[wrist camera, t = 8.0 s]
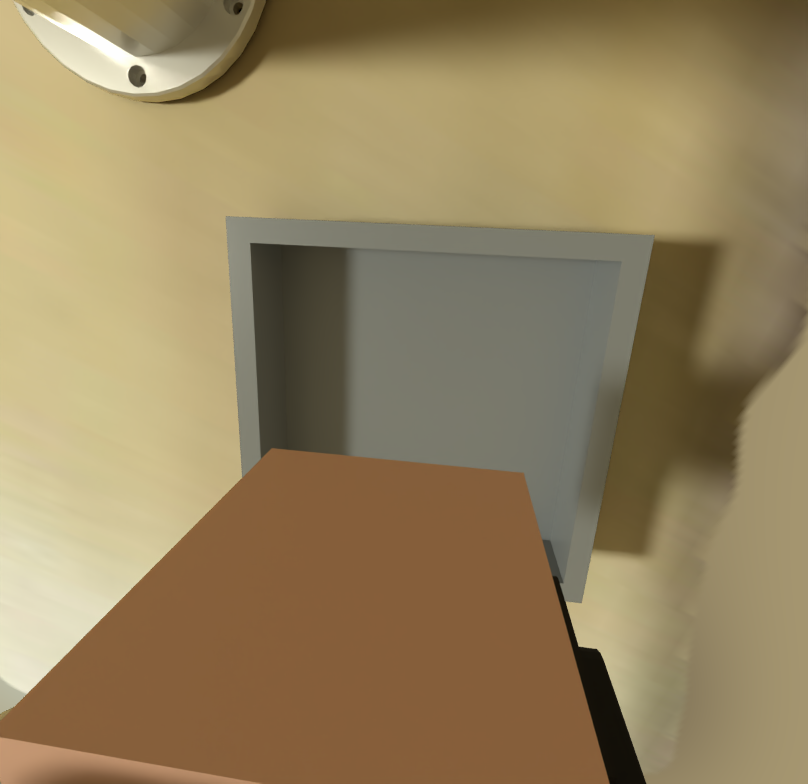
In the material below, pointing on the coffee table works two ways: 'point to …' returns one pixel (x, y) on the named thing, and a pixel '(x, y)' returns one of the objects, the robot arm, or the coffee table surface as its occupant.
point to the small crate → (326, 644)
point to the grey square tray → (442, 353)
